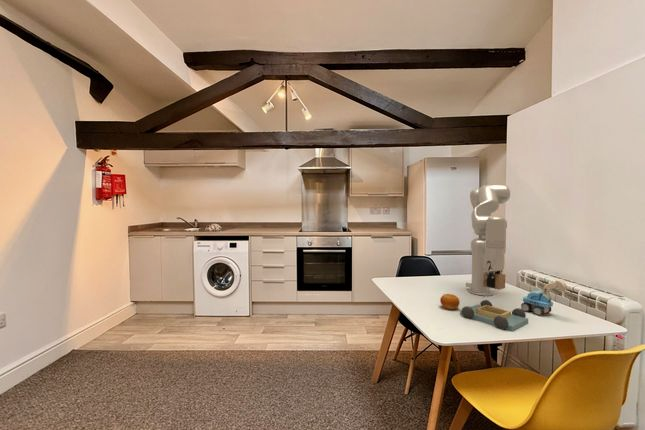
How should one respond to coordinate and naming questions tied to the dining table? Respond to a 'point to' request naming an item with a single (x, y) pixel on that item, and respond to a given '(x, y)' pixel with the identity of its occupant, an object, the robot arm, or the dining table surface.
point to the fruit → (449, 301)
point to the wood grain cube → (498, 281)
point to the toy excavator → (541, 298)
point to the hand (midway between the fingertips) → (493, 285)
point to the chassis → (496, 316)
